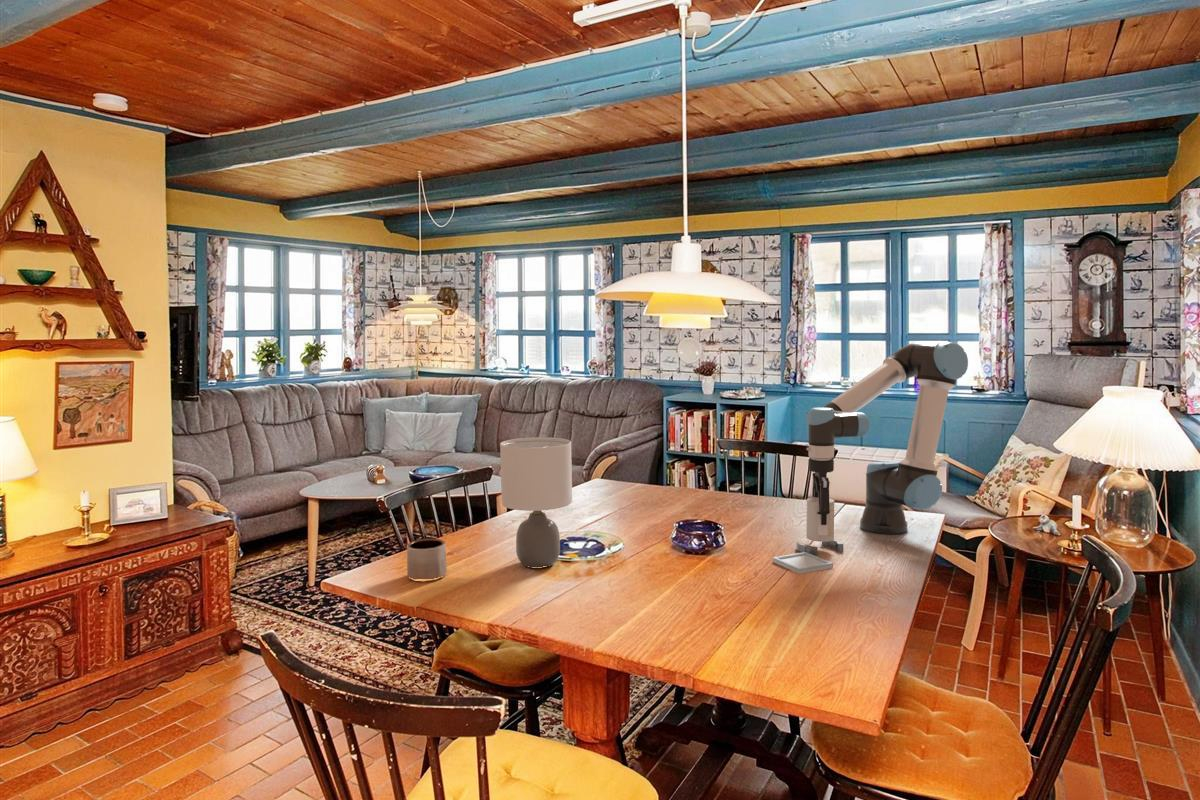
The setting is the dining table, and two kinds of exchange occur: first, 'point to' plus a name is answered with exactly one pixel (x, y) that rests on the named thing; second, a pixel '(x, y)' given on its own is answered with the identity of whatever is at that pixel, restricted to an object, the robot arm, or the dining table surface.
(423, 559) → the planter
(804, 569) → the tray
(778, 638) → the dining table surface
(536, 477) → the lamp
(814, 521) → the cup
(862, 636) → the dining table surface
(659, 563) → the dining table surface
